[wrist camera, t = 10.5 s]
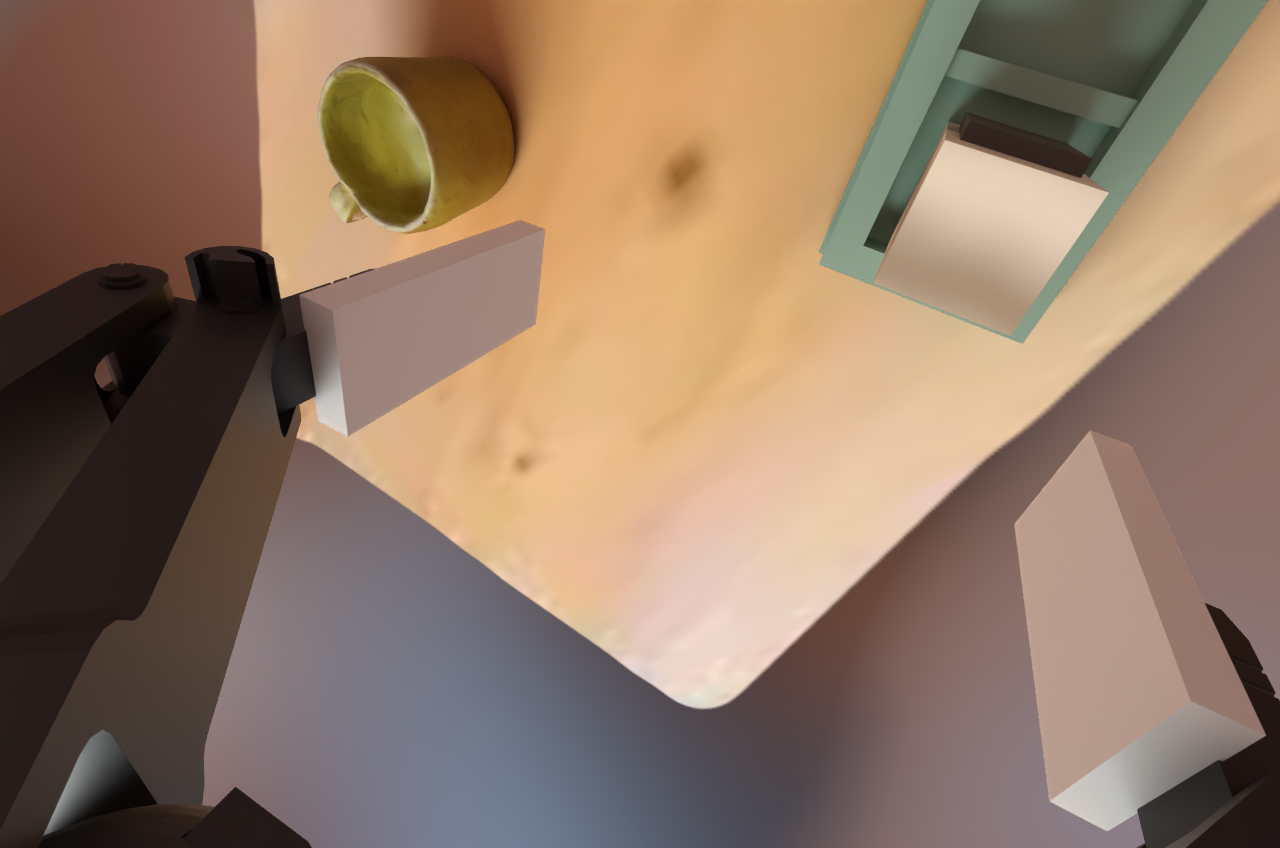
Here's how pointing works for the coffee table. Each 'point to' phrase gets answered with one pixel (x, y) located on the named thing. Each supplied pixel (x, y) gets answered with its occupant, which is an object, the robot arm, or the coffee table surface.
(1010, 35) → the teal slotted holder
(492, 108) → the mug
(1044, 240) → the block
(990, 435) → the coffee table surface
